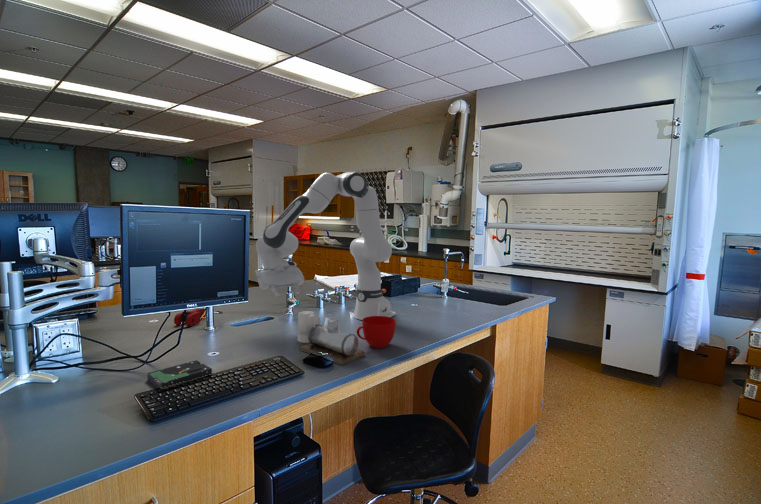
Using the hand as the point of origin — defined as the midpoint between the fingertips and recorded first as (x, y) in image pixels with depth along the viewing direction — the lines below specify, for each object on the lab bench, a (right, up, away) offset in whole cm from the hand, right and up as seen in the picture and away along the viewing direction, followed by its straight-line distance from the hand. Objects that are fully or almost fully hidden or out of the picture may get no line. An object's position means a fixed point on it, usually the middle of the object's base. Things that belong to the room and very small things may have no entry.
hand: (288, 294), depth 164 cm
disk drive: (-22, -21, -45) cm, 54 cm away
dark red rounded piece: (-46, -14, +14) cm, 51 cm away
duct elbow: (+10, -18, -8) cm, 21 cm away
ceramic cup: (+36, -19, -12) cm, 42 cm away
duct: (+21, -19, -20) cm, 35 cm away
